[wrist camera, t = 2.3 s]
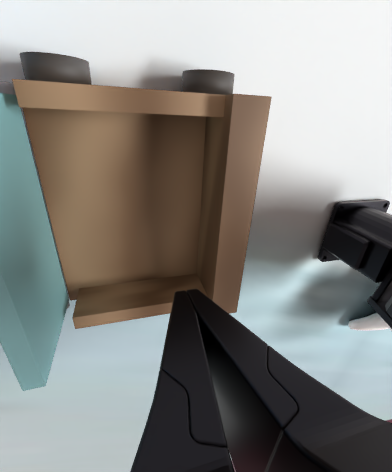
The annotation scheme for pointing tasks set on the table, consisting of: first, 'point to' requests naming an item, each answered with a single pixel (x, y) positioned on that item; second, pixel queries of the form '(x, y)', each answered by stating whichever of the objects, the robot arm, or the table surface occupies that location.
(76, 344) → the table surface
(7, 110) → the panel
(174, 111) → the truck bed
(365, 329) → the cherub figurine
